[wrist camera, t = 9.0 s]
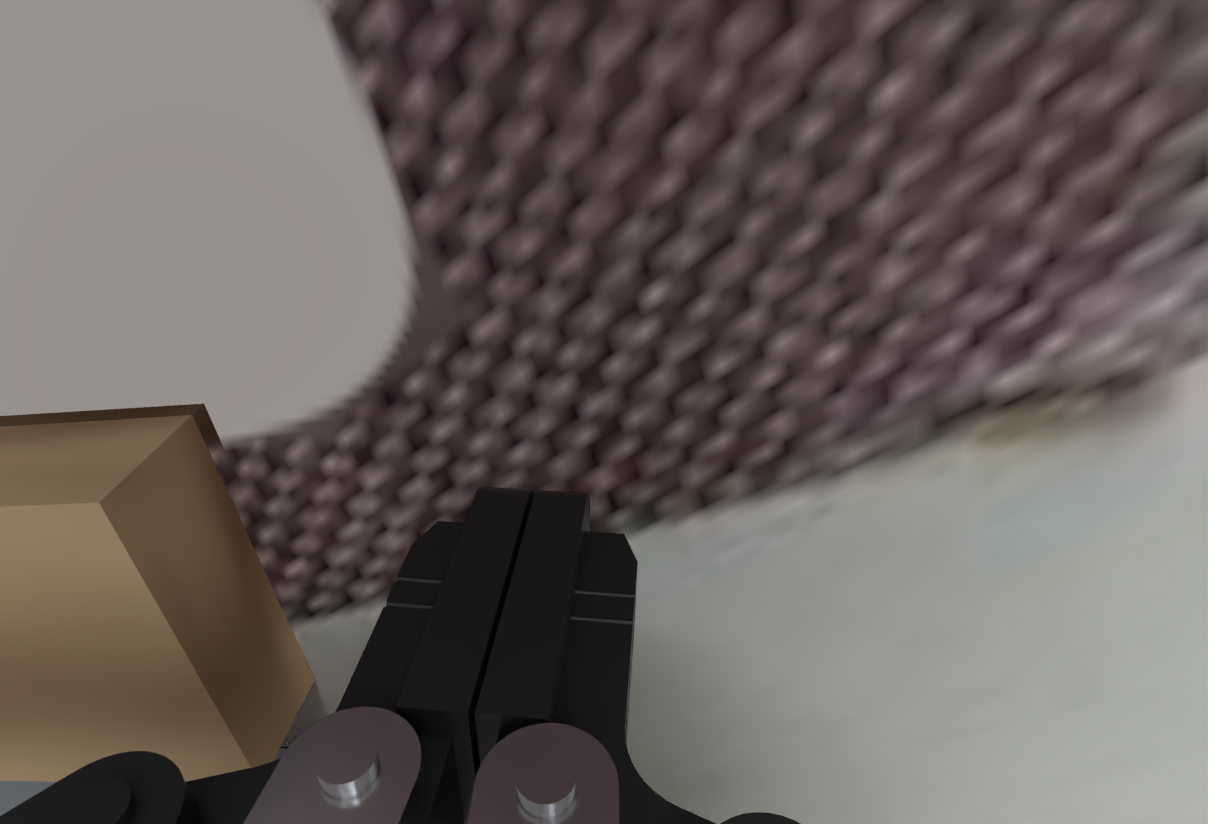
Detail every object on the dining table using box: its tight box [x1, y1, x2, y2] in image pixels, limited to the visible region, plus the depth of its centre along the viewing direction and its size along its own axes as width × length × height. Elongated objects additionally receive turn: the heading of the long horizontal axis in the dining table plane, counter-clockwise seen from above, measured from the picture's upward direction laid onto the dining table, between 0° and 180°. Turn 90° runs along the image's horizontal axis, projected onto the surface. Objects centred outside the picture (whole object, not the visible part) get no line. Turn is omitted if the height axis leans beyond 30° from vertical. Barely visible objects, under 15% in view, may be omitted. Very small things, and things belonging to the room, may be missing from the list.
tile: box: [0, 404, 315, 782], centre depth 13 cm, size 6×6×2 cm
